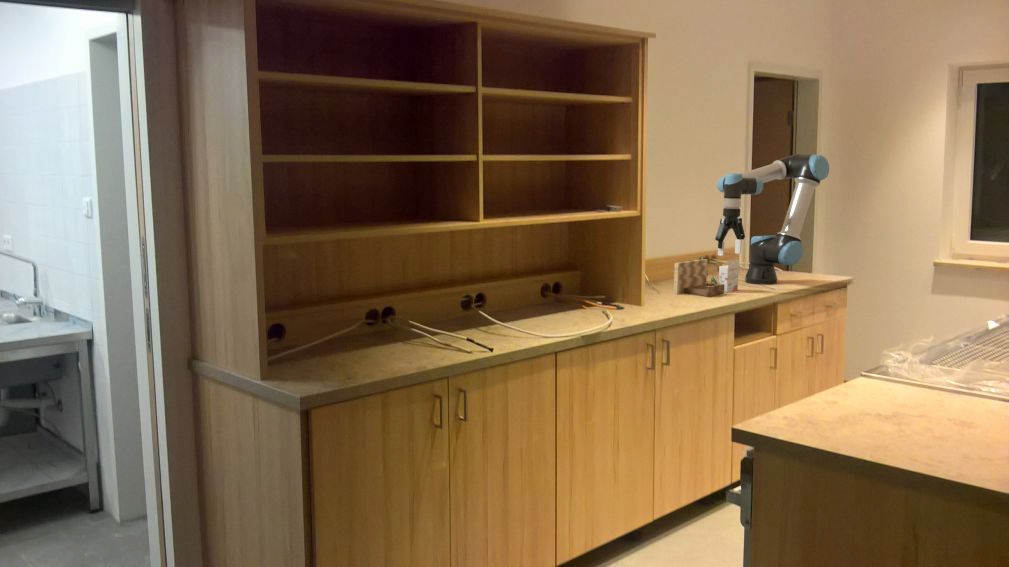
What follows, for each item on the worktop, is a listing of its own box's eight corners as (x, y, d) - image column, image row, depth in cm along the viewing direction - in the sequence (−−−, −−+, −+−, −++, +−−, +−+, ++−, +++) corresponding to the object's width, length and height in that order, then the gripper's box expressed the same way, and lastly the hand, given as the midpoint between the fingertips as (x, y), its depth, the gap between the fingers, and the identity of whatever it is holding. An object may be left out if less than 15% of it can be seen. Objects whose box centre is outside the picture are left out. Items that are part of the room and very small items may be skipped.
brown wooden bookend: (702, 289, 394) (703, 259, 391) (730, 293, 383) (731, 262, 380) (673, 293, 379) (674, 262, 377) (701, 298, 368) (702, 266, 366)
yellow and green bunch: (712, 287, 398) (710, 256, 397) (678, 287, 410) (676, 257, 409) (722, 285, 405) (720, 254, 404) (689, 285, 417) (687, 255, 416)
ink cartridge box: (728, 289, 393) (730, 258, 390) (737, 291, 389) (739, 259, 387) (717, 291, 387) (719, 259, 385) (727, 292, 383) (728, 260, 381)
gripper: (740, 206, 393) (737, 252, 396) (708, 208, 377) (706, 255, 380) (754, 207, 388) (751, 253, 391) (723, 209, 371) (720, 257, 374)
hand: (729, 254), depth 385 cm, fingers open, 13 cm apart
